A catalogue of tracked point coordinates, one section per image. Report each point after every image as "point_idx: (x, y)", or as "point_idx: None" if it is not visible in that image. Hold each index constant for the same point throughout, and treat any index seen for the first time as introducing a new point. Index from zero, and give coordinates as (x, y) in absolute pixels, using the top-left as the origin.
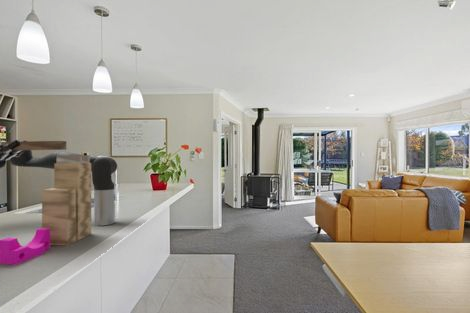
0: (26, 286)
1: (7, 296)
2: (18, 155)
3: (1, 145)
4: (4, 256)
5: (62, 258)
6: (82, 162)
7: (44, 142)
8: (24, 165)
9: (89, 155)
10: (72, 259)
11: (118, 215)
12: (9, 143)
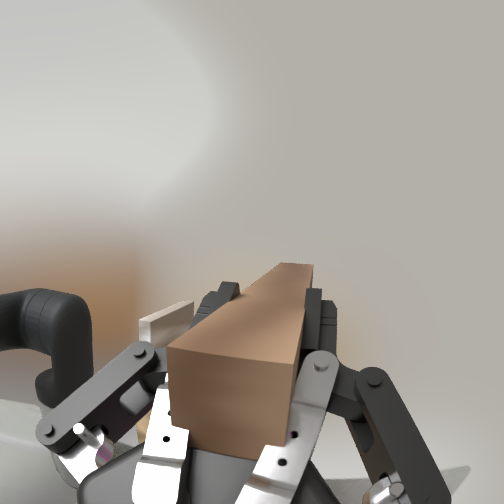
0: (446, 473)
1: (468, 471)
2: (113, 437)
3: (383, 373)
4: None
5: (355, 493)
6: (184, 331)
7: (311, 279)
8: None
9: (185, 300)
10: (358, 480)
11: (14, 438)
12: (300, 341)
